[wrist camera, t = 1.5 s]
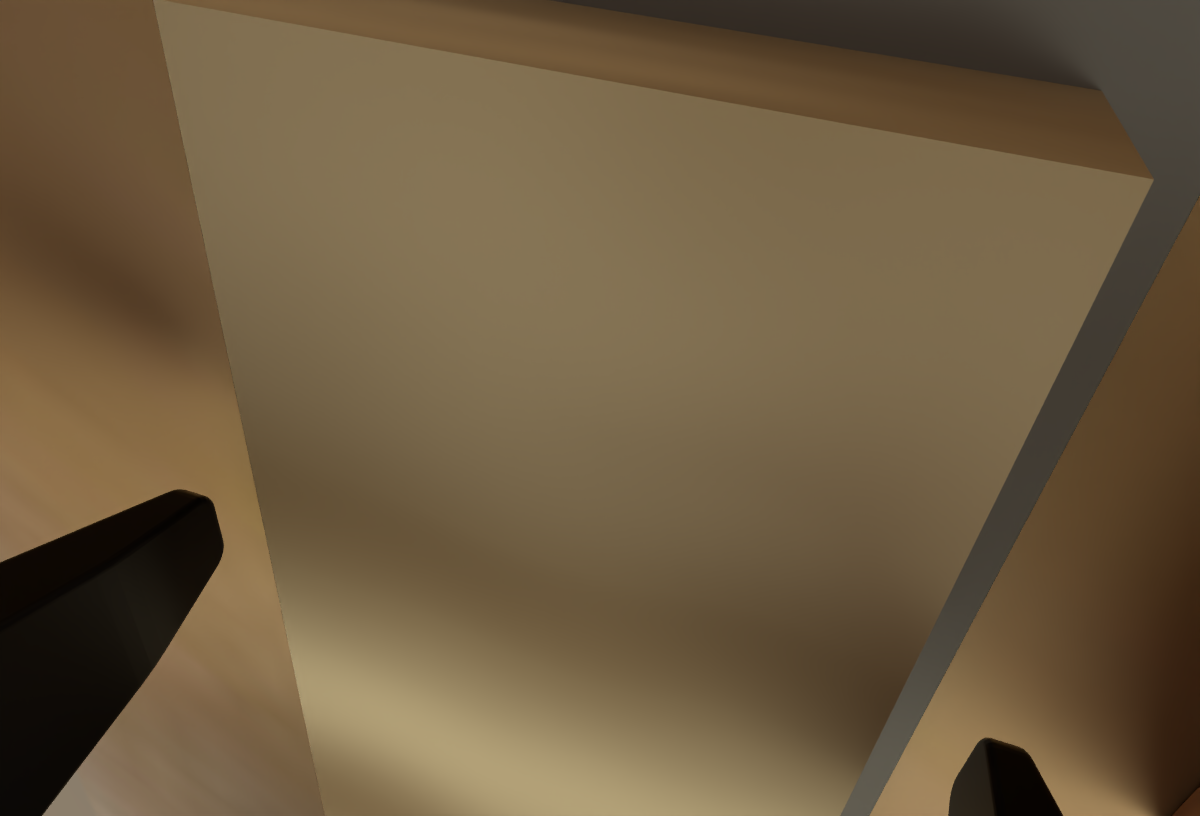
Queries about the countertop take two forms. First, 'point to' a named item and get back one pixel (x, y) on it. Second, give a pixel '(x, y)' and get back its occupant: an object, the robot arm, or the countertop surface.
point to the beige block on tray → (623, 379)
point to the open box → (1190, 806)
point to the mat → (1181, 174)
